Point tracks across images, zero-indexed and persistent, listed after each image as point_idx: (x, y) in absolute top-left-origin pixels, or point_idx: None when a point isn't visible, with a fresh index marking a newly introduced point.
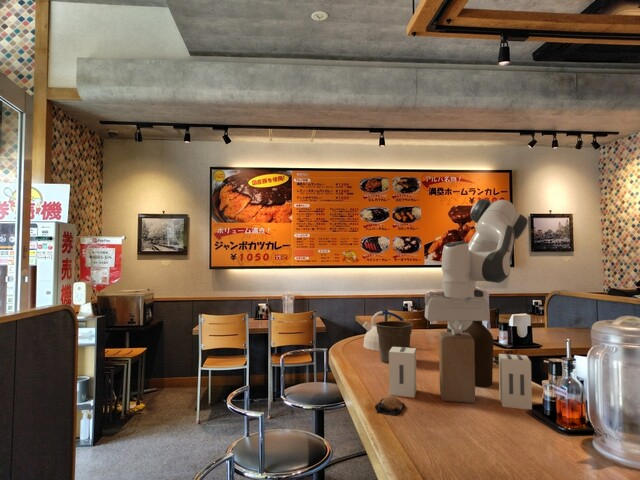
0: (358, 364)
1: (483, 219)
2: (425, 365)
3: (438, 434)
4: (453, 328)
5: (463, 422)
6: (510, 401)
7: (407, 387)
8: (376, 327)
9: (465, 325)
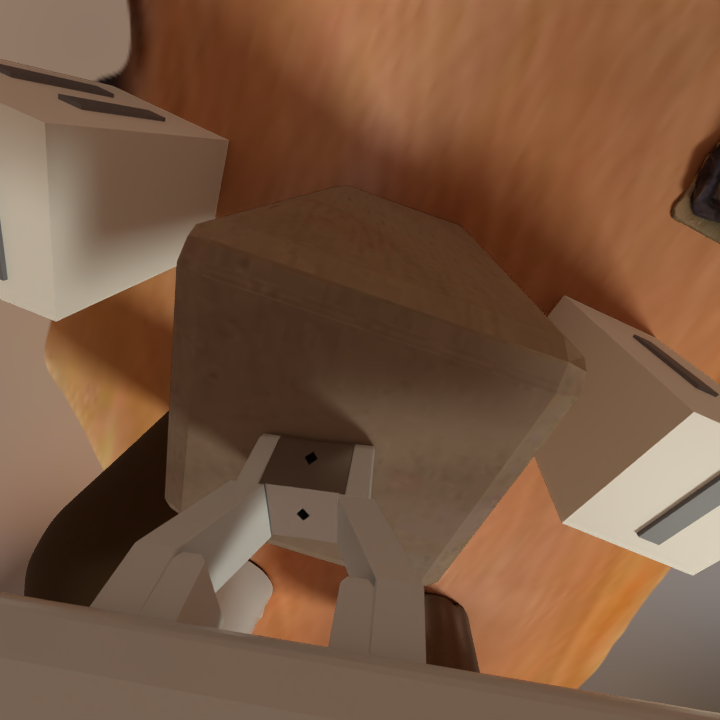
0: (559, 612)
1: None
2: None
3: None
4: (373, 512)
5: None
6: (182, 123)
7: (608, 322)
8: None
9: (158, 528)
